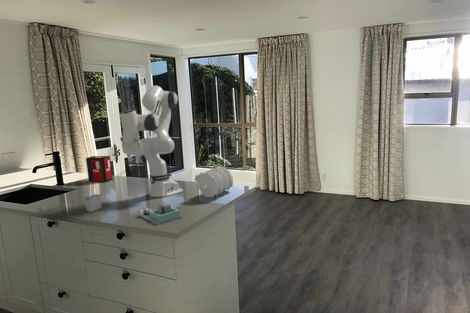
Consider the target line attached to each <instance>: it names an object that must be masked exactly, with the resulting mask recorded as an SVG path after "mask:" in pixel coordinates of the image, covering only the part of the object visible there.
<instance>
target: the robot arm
mask: <svg viewBox="0 0 470 313" xmlns="http://www.w3.org/2000/svg"><path fill="white" fill-rule="evenodd" d="M178 99H179V98H178V95H177V93H176V91H171V90H170V91H168V90H164V89H163V88H162V87H161V86H159V85H152V86H151V87H149V89H147V91H146V92H145V93H144V95H143V96H142V98H141V102H142V106H143V107H144V108H145V110H148V111H150V112H151V113H145V114H138V113H137V112H136V110H135V109H130V108H129V109H126V110H123V111H122V112H121V116H120V117H121V119H120V120H121V128H122V136H121V137H120V142H121V148H122V152H123V153H124V154H126V156H127V161H128V162H133V158H132V156H134V157H135V159H134V161H135V163H136V164H139V163H140V159H141V156H144V158H145V159H146V160H147V164H148V167H149V182H150V191H149V192H150V193H149V197H152V198H167V197H170V196H171V197H172V196H174V195H176V194H180V193H182V192H183V189H182V188H181V187H180V185H179V183H178V182H177V181H175V180H174V179H172V178H171V177H173V174H172V173H170V172H168V171H167V163H166V160H164V159H162V158H161V157H160V155H167V154H170V153H172V152H173V151H174V150H175V142H174V140H173V139H172V138H171V137H170V135H169V129H170V124H171V119H172V118H171V117H172V111H171V110H174V108H175V107H176V106H177V104H178ZM140 132H153V133H154V134H155V135H156V137H155V136H154V137H144V138H140Z"/></svg>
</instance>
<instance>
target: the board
mask: <svg viewBox="0 0 470 313" xmlns="http://www.w3.org/2000/svg"><path fill="white" fill-rule="evenodd" d="M154 210H155V209H154ZM154 210H153V209H152V208H150V209H149V208H143V209H140V210H139V214H138V216H139V217H140V218H142V219H144V220H145V221H146V220H147V221H148V222H150V223H152V224H154V225H156V226H159V225H161V224H165V223H168V222H173V221H174V220H178V219H181V218H183V217H182V215H181V214H180V216H177V217H174V218H170V219H167V220H163V221H158V220H156V219H154V218H152V217H150V215H144V211H145V212H147V213H148V212H149V213H150V211H154Z"/></svg>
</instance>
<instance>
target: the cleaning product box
mask: <svg viewBox="0 0 470 313" xmlns="http://www.w3.org/2000/svg"><path fill="white" fill-rule="evenodd" d="M111 160H112V159H111V156H110V155H94V156H93V155H92V156H88V157H86V158H85V163H86V169H87V178H88V183H108V182H110V181H113V178H114V177H113V170H112V169H113V168H112V163H111V162H112V161H111Z"/></svg>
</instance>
